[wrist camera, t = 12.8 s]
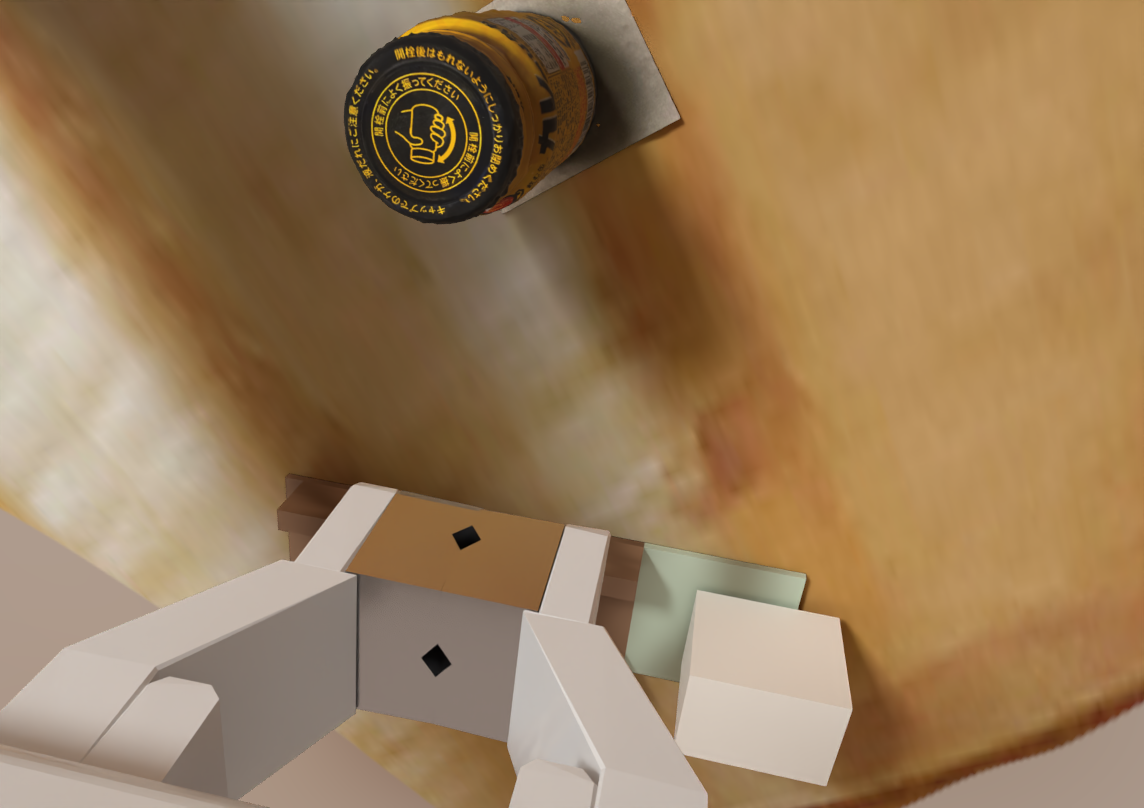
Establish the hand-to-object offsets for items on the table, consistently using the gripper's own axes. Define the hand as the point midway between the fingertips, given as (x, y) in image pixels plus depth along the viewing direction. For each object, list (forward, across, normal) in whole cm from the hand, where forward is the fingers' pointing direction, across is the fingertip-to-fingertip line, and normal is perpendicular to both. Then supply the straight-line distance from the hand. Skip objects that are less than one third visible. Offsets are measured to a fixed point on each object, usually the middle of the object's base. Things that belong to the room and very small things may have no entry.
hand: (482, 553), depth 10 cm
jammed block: (+27, -9, +23) cm, 36 cm away
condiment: (+28, +5, -2) cm, 29 cm away
